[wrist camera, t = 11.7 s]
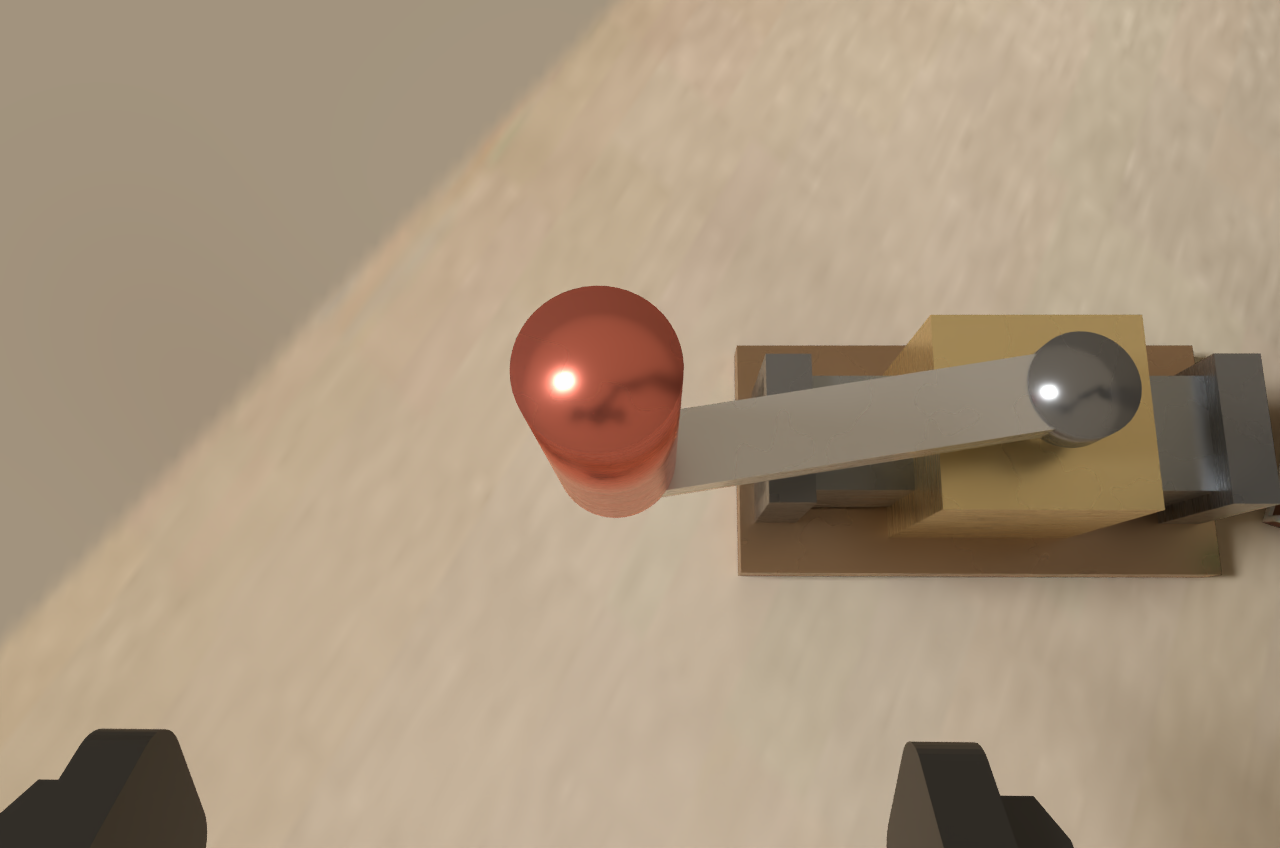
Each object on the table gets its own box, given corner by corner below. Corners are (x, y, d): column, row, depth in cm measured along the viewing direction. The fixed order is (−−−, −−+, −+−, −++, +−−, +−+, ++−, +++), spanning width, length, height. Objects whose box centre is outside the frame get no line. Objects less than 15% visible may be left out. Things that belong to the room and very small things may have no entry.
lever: (1103, 334, 26) (1327, 172, 18) (1133, 442, 26) (1382, 330, 17) (553, 420, 26) (499, 299, 17) (569, 531, 25) (521, 465, 17)
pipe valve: (1174, 355, 36) (1341, 258, 27) (1202, 577, 34) (1390, 550, 25) (734, 355, 36) (758, 259, 27) (738, 575, 34) (765, 548, 26)
